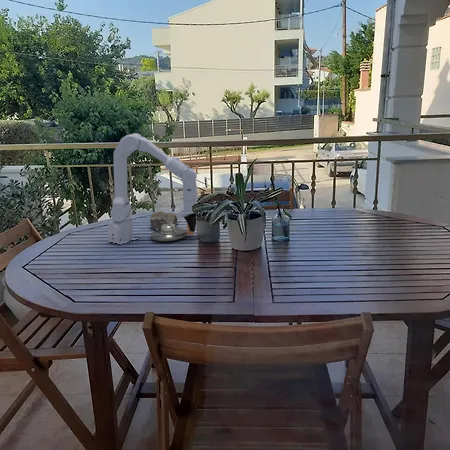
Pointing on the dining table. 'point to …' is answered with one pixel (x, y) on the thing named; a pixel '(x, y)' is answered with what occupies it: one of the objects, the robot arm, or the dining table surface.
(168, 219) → the rock
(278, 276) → the dining table surface
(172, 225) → the cover
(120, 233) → the robot arm
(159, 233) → the turntable
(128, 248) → the dining table surface
